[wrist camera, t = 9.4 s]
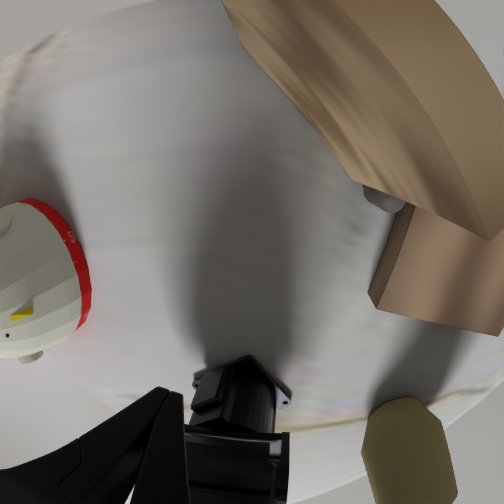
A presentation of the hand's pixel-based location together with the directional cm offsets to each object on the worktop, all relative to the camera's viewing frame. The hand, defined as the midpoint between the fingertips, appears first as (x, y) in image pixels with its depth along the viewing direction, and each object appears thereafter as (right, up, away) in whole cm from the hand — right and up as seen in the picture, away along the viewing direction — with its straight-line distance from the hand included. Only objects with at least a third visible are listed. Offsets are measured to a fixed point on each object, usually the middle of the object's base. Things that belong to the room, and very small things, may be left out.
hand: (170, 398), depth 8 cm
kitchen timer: (-18, +3, +15) cm, 24 cm away
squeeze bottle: (+17, -12, +16) cm, 26 cm away
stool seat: (+19, +6, +9) cm, 22 cm away
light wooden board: (+7, +13, +8) cm, 17 cm away
